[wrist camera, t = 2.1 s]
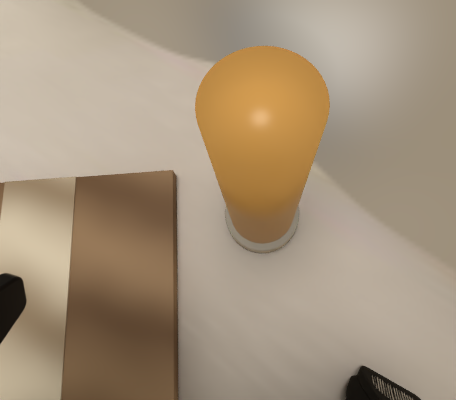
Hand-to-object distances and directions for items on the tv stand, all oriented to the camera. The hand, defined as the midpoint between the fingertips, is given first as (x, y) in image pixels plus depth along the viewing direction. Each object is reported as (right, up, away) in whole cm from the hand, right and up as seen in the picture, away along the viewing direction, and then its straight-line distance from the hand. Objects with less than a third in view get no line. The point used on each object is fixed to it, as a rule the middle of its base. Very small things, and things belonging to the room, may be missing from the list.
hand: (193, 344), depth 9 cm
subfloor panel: (-8, -3, +13) cm, 15 cm away
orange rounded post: (+3, +2, +13) cm, 14 cm away
